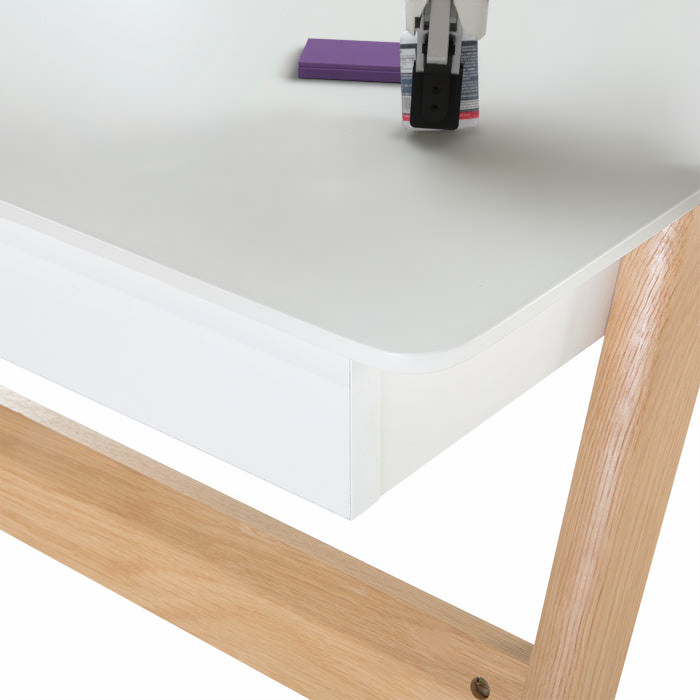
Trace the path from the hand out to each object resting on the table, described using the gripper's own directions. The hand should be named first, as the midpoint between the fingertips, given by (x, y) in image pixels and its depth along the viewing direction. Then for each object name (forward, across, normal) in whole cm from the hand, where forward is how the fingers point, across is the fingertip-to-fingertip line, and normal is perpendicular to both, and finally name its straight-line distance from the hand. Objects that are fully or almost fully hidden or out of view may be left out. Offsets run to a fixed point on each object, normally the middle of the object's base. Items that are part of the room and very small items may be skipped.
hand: (434, 123), depth 81 cm
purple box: (+3, +16, +5) cm, 17 cm away
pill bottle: (+2, +3, 0) cm, 4 cm away
